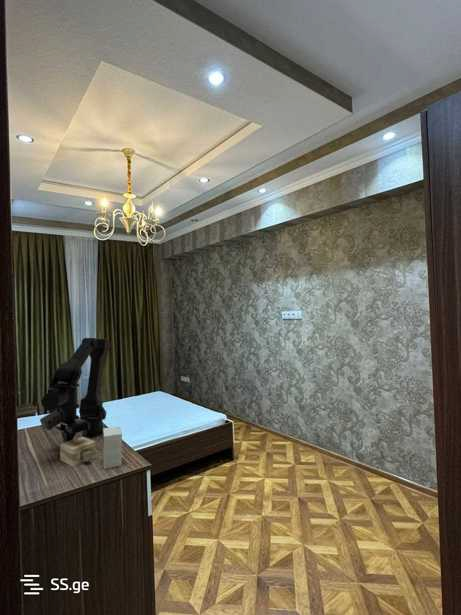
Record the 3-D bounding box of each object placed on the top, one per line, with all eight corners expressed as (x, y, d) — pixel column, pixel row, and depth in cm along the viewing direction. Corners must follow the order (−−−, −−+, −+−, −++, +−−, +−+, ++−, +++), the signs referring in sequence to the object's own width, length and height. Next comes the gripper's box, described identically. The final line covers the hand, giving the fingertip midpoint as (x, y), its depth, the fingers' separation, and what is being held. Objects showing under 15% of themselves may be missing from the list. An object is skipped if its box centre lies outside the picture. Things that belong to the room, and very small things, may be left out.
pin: (75, 451, 114) (75, 440, 114) (94, 460, 107) (95, 448, 107) (63, 455, 111) (63, 443, 111) (83, 465, 104) (83, 452, 104)
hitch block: (82, 451, 115) (82, 436, 115) (95, 457, 110) (95, 441, 110) (60, 460, 108) (60, 443, 108) (72, 466, 104) (72, 449, 104)
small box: (102, 459, 109) (102, 428, 109) (120, 456, 111) (120, 425, 111) (103, 469, 102) (103, 436, 102) (121, 466, 104) (122, 433, 104)
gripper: (31, 403, 113) (30, 448, 112) (57, 412, 102) (57, 462, 101) (63, 396, 122) (62, 438, 121) (90, 404, 111) (90, 450, 110)
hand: (67, 446), depth 113 cm, fingers closed
